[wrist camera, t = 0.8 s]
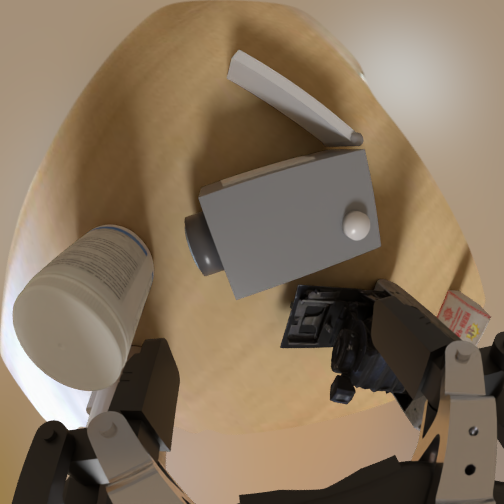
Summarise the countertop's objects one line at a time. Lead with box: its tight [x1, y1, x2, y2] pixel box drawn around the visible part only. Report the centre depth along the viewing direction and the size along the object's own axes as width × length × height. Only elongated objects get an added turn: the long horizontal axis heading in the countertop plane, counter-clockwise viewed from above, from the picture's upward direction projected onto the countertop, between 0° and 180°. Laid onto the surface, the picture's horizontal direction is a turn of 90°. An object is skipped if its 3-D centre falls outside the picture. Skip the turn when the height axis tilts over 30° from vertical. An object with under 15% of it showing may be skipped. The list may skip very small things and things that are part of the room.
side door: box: [227, 50, 363, 147], centre depth 22 cm, size 13×2×6 cm, turn 57°
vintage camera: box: [280, 279, 462, 431], centre depth 25 cm, size 10×16×20 cm, turn 79°
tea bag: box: [437, 290, 491, 346], centre depth 34 cm, size 4×7×10 cm, turn 170°
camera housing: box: [185, 149, 381, 300], centre depth 24 cm, size 16×9×8 cm, turn 107°
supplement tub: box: [13, 225, 154, 391], centre depth 21 cm, size 10×10×15 cm
